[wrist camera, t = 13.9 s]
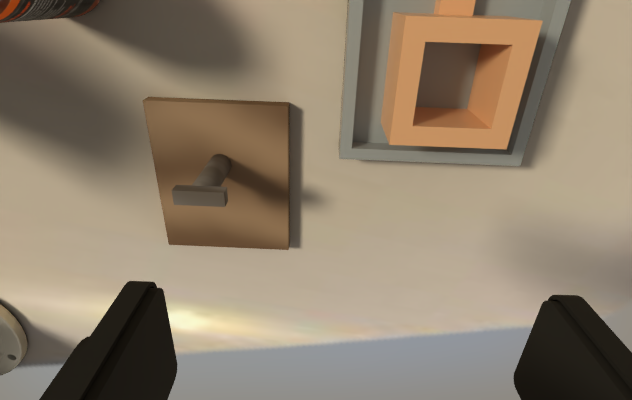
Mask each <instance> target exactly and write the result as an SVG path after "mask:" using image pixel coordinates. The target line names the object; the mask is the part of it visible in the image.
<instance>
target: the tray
mask: <svg viewBox="0 0 632 400" xmlns="http://www.w3.org/2000/svg"><path fill="white" fill-rule="evenodd" d="M435 2H436V0H348V11H347V27H346V43H345V59H344V75H343V90H342V106H341V122H340V138H339V159H356V160H381V161H405V162H429V163H454V164H478V165H503V166H520V165H521V162H522V159H523V155H524V152H525V149H526V146H527V142H528V139H529V136H530V133H531V129H532V126H533V123H534V120H535V116H536V113H537V110H538V107H539V103H540V100H541V97H542V94H543V90H544V87H545V84H546V81H547V77H548V74H549V71H550V68H551V64H552V61H553V58H554V54H555V51H556V48H557V45H558V41H559V38H560V35H561V32H562V28H563V25H564V22H565V19H566V15H567V12H568V9H569V6H570V2H571V0H476V1H475V6H474V11H473V15H490V16H510V17H518V18H526V19H534V20H542V21H543V22H542V25H541V29H540V32H539V36H538V39H537V43H536V47H535V50H534V54H533V57H532V61H531V64H530V68H529V71H528V75H527V79H526V82H525V86H524V89H523V93H522V96H521V100H520V103H519V107H518V111H517V114H516V118H515V121H514V125H513V128H512V132H511V135H510V139H509V142H508V146H507V149H483V148H458V147H433V146H407V145H389V142H388V140H387V137H386V135H385V132H384V130H383V127H382V125H381V115H382V106H383V97H384V88H385V79H386V71H387V62H388V53H389V44H390V35H391V26H392V17H393V12H404V13H433V14H434V8H435ZM480 47H481V44H476V43H448V42H425V48H424V54H423V61H422V67H421V74H420V80H419V87H418V93H417V100H416V106H415V107H430V108H456V109H467V107H468V102H469V98H470V93H471V88H472V84H473V79H474V75H475V70H476V66H477V61H478V56H479V52H480Z"/></svg>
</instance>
